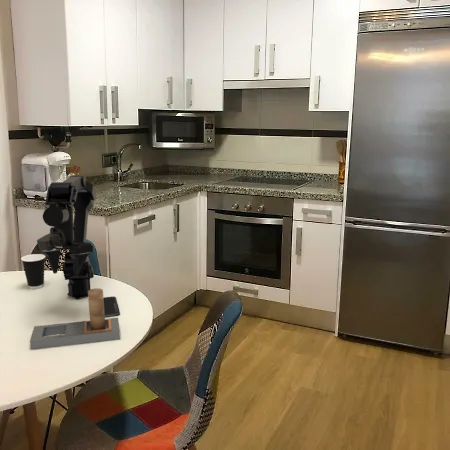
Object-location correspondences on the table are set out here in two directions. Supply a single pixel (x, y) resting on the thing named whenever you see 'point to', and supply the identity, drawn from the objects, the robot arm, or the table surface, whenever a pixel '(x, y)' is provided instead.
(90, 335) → the plate with square holes
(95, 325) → the peg
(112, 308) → the phone
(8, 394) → the table surface
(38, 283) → the dixie cup
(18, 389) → the table surface
